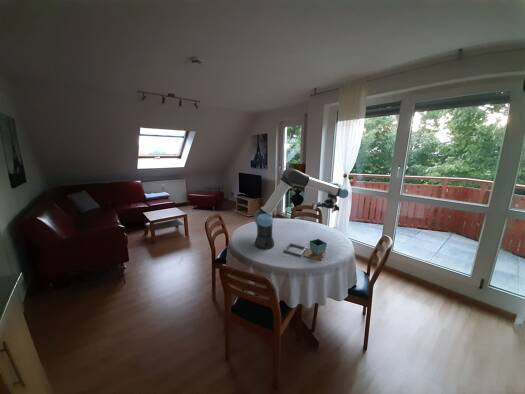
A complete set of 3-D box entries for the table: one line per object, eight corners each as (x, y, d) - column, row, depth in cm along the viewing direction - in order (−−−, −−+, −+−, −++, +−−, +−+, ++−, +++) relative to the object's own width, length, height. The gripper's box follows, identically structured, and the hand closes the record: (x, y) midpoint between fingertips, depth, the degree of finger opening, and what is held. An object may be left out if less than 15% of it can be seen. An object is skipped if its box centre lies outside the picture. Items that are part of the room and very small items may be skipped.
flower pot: (316, 258, 143) (317, 246, 140) (308, 252, 150) (309, 241, 148) (326, 255, 147) (327, 243, 144) (317, 249, 154) (318, 238, 152)
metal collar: (283, 251, 152) (283, 249, 152) (290, 244, 163) (290, 242, 163) (300, 256, 146) (301, 254, 145) (307, 248, 157) (307, 247, 157)
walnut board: (303, 256, 146) (303, 255, 146) (308, 249, 157) (308, 248, 156) (320, 260, 141) (320, 259, 140) (324, 253, 151) (325, 252, 151)
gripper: (344, 209, 166) (340, 217, 148) (313, 205, 178) (306, 211, 160) (345, 200, 164) (341, 207, 146) (314, 196, 176) (306, 202, 158)
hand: (322, 209), depth 153 cm, fingers open, 13 cm apart
